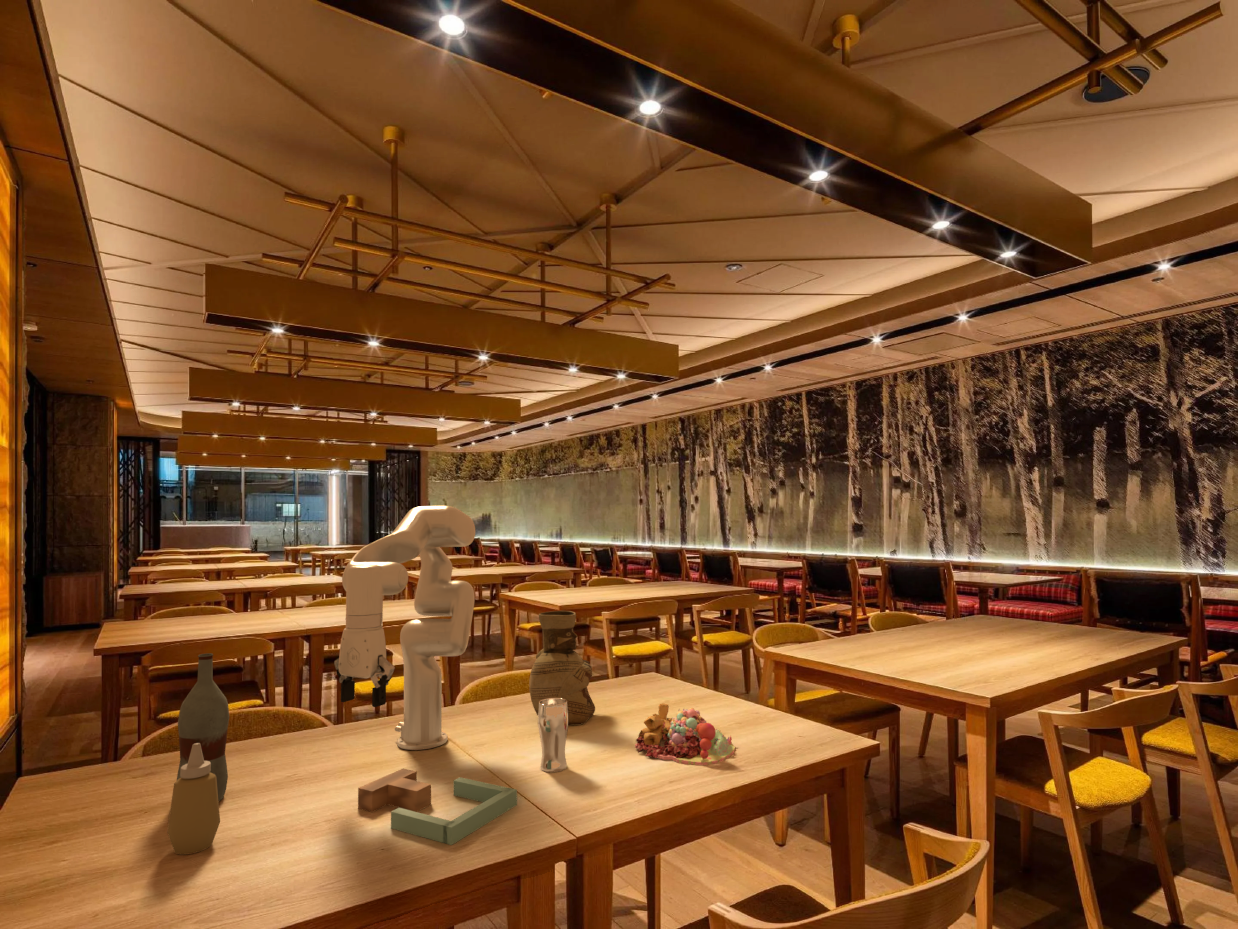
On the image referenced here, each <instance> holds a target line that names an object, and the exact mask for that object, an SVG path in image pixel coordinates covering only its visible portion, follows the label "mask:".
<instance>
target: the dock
mask: <svg viewBox="0 0 1238 929" xmlns="http://www.w3.org/2000/svg"><path fill="white" fill-rule="evenodd" d="M453 796H455V797H459V798H463V799H467V800H468V799H469V800H472V801H477V802H481V803H480V804H477V806H474V807H472V808H471V809H470V810H467V811H465V812H464V813H462V814H461V815H459V816H457V817H455V818H454V819H451V820H448V819H445V818H441V817H437V816H433V815H429V814H426V813H422V812H421V813H420V812H419V811H418V812H414V811H410V810H407V809H403V808H399V807H396V808H395V809H393V810H391V811H390V829H394V830H397V831H400V832H404V833H407V834H411V835H414V836H417V837H422V838H425V839H428V840H432V841H436V842H438V843H442V844H446V845H450V846H453V845H454V844H456V843H458V842H459V841H461V840H462V839H464V838H465V837H467V836H469V835H471V834H472V833H473V832H475V831H477V830H479V829H480V828H481V827H484V826H486V825H487V824H489V823H490V822H491V821H493V820H495V819H496V818H498V817H500V816H502V815H503V814H505V813H506V812H508V811H509V810H511V809H513V808H515V807H516V806H518V789H517V788H511V787H507V786H502V785H497V784H494V783H488V782H484V781H479V780H476V779H475V780H474V779H470V778H464V777H461V776H459V777H458V778H456V779H454V780H453Z"/></svg>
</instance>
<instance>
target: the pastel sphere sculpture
mask: <svg viewBox="0 0 1238 929" xmlns="http://www.w3.org/2000/svg"><path fill="white" fill-rule="evenodd" d="M669 707H670V705H669V704H668V703H666V702H665V703H664V702H663V703H660V704H658V714H657V713H654V714H652V715H650V716H647V718H645V720H644V721H643V724H644V725H645V727H644V728H643V729H641V730H640V731H639V733H638V736H637V738H636V740H635V742H636V743H634V748H635V749H637V750H638V751H637V754H638V753H642V752H646V753H645V757H646V758H647V757H648V758H652V759H653V758H654V759H660V760H666V761H667V760H668V761H670V760H672V761H674V762H676V763H677V764H678V763H679V764H683V765H695V766H706V765H707V766H708V765H709V766H710V765H713V764H714V765H715V764H717V763H719V762H720V763H721V762H723V761H724V760H725V759H728V758H730V757H731V756H732V755H734V752H735V751H736V747H735V745H734V743H732V735H730V736H727V737H726V736H725V735H724V734H723V732H721V730H720V729H718V728H715V726H714V725H713V724H712V723H710V722H707V720H705V718H703V717H702V716H701V712H700V711H699V710H696V709H695V708H694V707H690V708H688V709H685V708H683V709H682V710H680V709H678V711H677V712H676V714H675V717H668V715H669V714H668V713H669V709H670V708H669Z"/></svg>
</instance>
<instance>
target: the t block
mask: <svg viewBox="0 0 1238 929" xmlns="http://www.w3.org/2000/svg"><path fill="white" fill-rule="evenodd" d="M417 777H418V774H417V770H412V769H408V768H401V769H398V770H395V771H394V772H392V773H389V774H387V775H385V776H383V777H380V778H378V779H376V780H373V781H371V782H369V783H366V784H364V785H361V786H359V787H358V788H357V790H358V791H357V792H358V793H357V809H360V810H362V809H363V811H366V812H370V813H373V812H375V811H377V810H379V809H382V808H383V807H386V806H391V807H395V808H403V809H407V810H410V811H414V812H418V813H419V812H420V811H421V810H423V809H425V808H427V807H429V806H431V805H432V783H427V782H422V781H418V778H417Z"/></svg>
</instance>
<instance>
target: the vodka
mask: <svg viewBox="0 0 1238 929" xmlns="http://www.w3.org/2000/svg"><path fill="white" fill-rule="evenodd" d="M197 657H198V661H197V662H198V664H197V666H198V667H197V681H196V683H195V684H194V686H193V687H192V688H191V690H190V691H189V693H188V694H187V695H186V697H185V698H184V700H183V701H182V703H181V706H180V709H179V714H178V718H177V730H178V742H179V743H178V744H179V745H178V746H179V760H180V761H179V764H178V770H177V774H176V781H177V780H178V779H179V778H181V776H180V772H181V767H182V766H183V765H185V764H188V761H189V757H190V753H191V749H192V745H193V744H195V743H200V745H201V749H202V754H203V758H204V761H210V763H211V771H210V773H213V774H215V775H216V779H217V790H218V802H220V801H221V800H223V799H224V798H225V794H226V791H227V786H228V778H229V771H228V764H227V758H226V747H227V739H228V738H227V735H228V730H229V729H228V728H229V721H230V710H229V703H228V699H227V697H226V696H225V694H224V693H223V691H222V690H221V689H220V688H219V686H218V685H217V683H216V682H215V681H214V679H213V674H214V673H213V663H214V662H213V660H214V659H213V657H214V654H213V653H212V652H211V653H210V652H209V653H207V652H206V653H201V654H198V656H197ZM176 781H175V782H176Z"/></svg>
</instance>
